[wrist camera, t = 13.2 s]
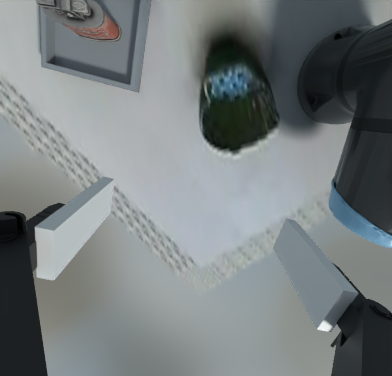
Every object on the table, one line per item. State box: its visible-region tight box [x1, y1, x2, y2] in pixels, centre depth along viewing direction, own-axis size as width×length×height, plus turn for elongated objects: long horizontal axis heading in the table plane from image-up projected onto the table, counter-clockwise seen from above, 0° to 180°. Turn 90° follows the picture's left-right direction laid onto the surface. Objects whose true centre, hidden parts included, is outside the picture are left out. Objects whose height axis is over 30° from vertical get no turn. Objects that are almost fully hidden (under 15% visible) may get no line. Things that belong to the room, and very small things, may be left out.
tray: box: [40, 0, 151, 92], centre depth 34 cm, size 16×16×3 cm
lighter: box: [36, 0, 122, 43], centre depth 30 cm, size 8×3×10 cm, turn 83°
